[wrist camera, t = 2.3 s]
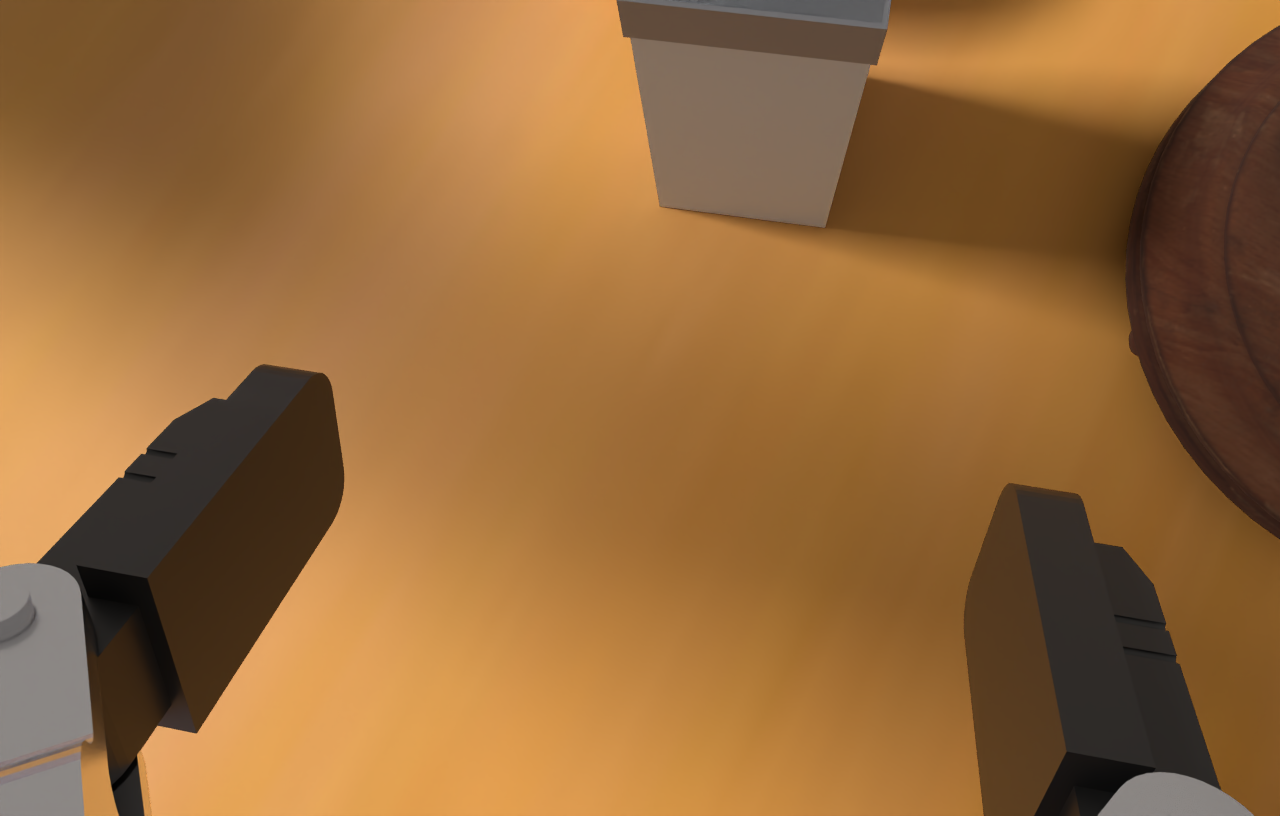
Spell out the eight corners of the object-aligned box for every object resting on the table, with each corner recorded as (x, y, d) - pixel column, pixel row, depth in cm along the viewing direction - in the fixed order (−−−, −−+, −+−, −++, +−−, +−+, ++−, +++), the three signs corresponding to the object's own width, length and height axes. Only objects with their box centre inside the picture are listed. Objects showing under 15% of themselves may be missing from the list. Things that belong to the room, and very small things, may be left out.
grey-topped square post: (828, 231, 27) (886, 29, 17) (655, 209, 27) (616, 0, 18) (851, 70, 28) (921, -213, 18) (683, 50, 28) (660, -235, 18)
